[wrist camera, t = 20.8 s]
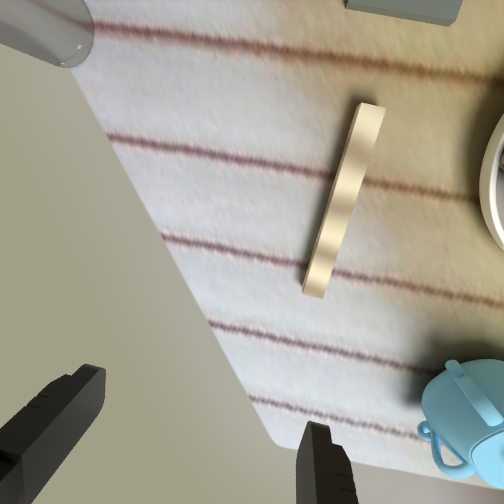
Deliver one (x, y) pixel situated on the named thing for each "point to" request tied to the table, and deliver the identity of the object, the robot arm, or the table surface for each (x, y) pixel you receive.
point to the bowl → (494, 184)
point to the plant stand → (411, 9)
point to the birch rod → (342, 197)
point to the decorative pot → (467, 418)
